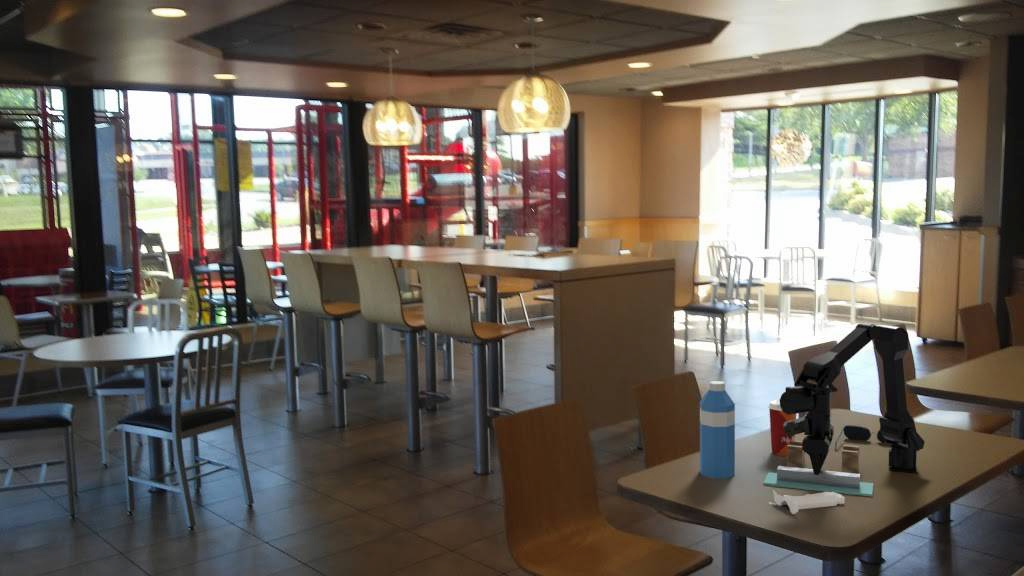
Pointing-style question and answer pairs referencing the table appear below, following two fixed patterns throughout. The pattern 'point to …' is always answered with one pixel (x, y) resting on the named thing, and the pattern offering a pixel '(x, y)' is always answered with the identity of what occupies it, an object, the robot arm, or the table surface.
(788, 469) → the rail
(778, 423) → the coffee cup
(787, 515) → the table surface
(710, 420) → the water bottle
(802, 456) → the stand
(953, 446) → the table surface
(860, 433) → the sunglasses
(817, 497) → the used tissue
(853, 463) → the stand
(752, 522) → the table surface
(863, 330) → the robot arm
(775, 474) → the mat
